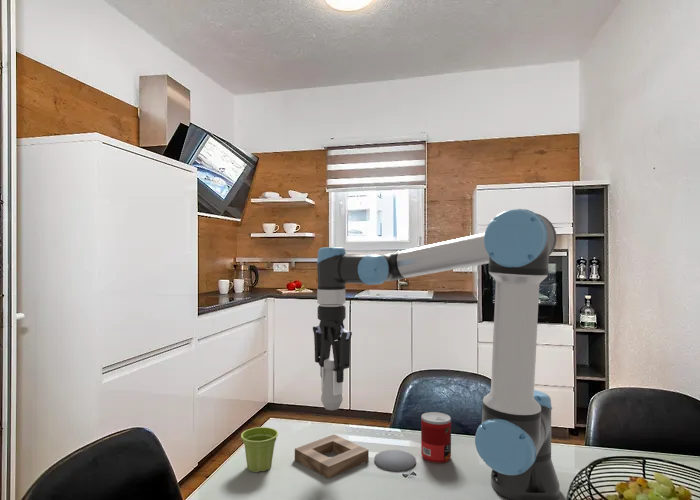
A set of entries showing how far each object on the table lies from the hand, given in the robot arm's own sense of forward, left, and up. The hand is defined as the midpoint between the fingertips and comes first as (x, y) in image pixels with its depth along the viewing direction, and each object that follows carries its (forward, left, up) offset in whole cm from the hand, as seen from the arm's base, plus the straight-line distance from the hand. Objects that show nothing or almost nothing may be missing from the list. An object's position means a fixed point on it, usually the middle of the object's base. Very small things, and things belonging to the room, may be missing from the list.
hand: (331, 392), depth 122 cm
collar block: (0, 0, -18) cm, 18 cm away
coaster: (-12, -12, -18) cm, 25 cm away
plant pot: (+10, +16, -19) cm, 27 cm away
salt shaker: (0, 0, -4) cm, 4 cm away
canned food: (-18, -22, -19) cm, 34 cm away
